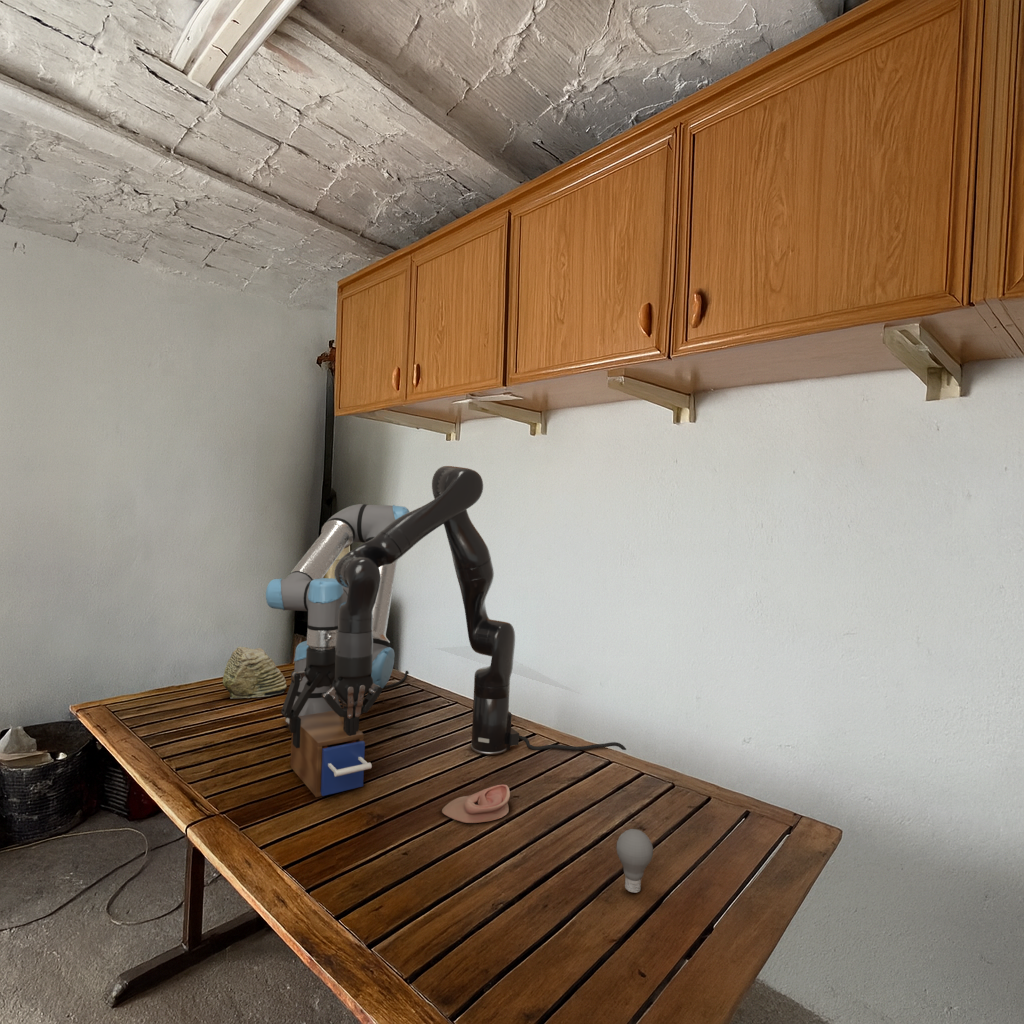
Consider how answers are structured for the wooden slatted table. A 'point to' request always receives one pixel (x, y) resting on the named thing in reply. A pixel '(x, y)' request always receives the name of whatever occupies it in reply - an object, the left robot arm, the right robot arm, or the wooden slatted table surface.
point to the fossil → (252, 674)
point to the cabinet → (317, 746)
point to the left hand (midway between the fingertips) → (319, 741)
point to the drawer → (343, 767)
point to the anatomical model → (480, 805)
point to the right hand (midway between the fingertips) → (351, 734)
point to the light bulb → (634, 857)
